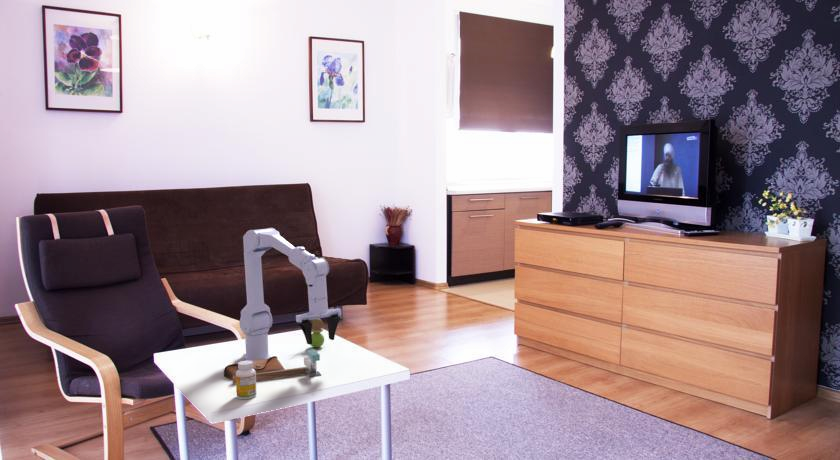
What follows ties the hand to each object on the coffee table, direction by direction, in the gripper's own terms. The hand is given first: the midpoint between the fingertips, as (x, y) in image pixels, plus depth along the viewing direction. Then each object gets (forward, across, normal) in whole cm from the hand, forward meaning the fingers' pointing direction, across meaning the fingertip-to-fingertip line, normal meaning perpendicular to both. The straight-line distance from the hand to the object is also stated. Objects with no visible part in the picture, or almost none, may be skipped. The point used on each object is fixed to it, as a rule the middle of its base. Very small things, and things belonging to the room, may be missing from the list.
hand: (320, 341), depth 206 cm
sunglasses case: (+10, -16, +13) cm, 23 cm away
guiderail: (+10, -15, +6) cm, 18 cm away
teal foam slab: (+9, -2, +4) cm, 10 cm away
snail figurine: (+9, +12, +28) cm, 32 cm away
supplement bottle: (+10, -26, -5) cm, 29 cm away
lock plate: (+10, -2, +1) cm, 10 cm away
